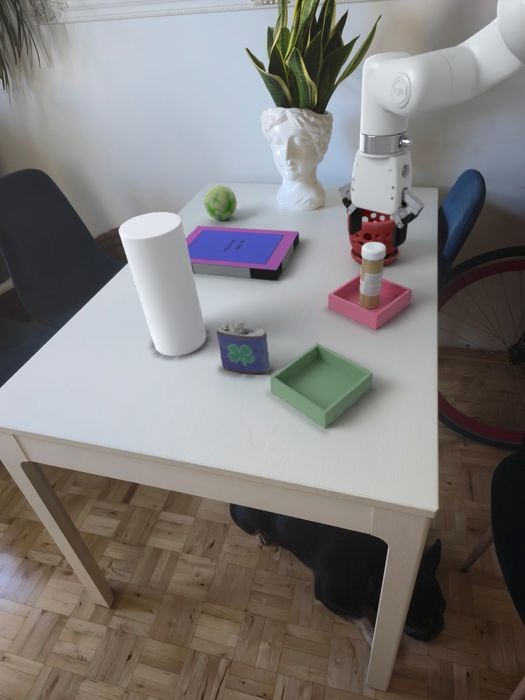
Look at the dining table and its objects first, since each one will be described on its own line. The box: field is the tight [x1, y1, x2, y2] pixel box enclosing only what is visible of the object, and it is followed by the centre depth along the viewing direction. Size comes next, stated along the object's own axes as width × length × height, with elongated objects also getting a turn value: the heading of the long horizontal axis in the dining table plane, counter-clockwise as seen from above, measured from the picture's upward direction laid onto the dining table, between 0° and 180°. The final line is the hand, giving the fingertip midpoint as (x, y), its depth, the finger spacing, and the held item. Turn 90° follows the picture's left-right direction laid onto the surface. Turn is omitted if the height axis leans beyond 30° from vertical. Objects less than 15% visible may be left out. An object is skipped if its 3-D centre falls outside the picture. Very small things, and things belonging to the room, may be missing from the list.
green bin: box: [269, 342, 374, 429], centre depth 74 cm, size 12×12×4 cm
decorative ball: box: [203, 185, 238, 221], centre depth 133 cm, size 10×10×10 cm
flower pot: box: [347, 208, 402, 266], centre depth 106 cm, size 13×13×12 cm
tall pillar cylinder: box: [118, 211, 207, 357], centre depth 82 cm, size 11×11×25 cm
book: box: [185, 225, 300, 282], centre depth 115 cm, size 21×3×30 cm
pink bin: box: [327, 273, 413, 331], centre depth 92 cm, size 12×12×4 cm
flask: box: [216, 319, 271, 376], centre depth 78 cm, size 9×3×11 cm, turn 74°
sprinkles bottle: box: [359, 242, 386, 309], centre depth 89 cm, size 5×5×14 cm
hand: (376, 238), depth 83 cm, fingers open, 9 cm apart
